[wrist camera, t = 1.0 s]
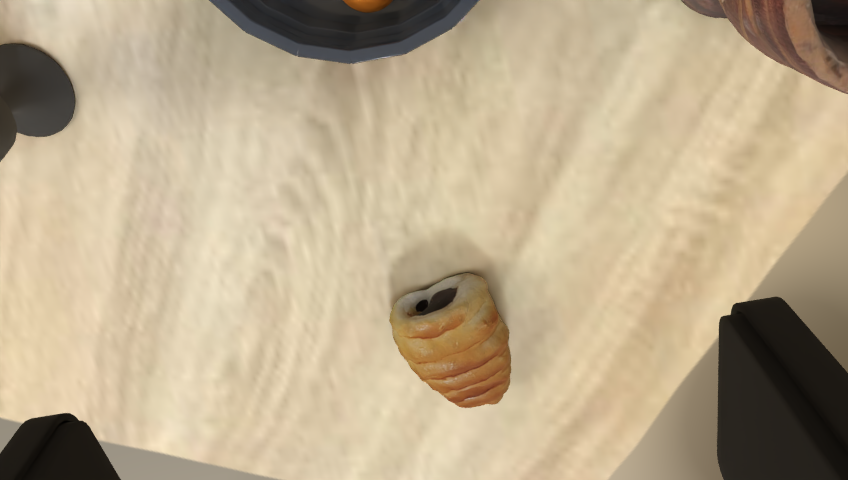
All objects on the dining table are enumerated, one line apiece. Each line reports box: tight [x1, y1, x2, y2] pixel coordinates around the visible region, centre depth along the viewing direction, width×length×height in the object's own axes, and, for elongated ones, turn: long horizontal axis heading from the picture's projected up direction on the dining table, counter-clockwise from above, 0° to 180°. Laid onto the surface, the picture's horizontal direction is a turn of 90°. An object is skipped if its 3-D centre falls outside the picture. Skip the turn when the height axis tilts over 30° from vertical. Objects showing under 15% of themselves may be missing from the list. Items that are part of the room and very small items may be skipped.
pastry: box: [390, 273, 511, 408], centre depth 41 cm, size 9×7×4 cm
